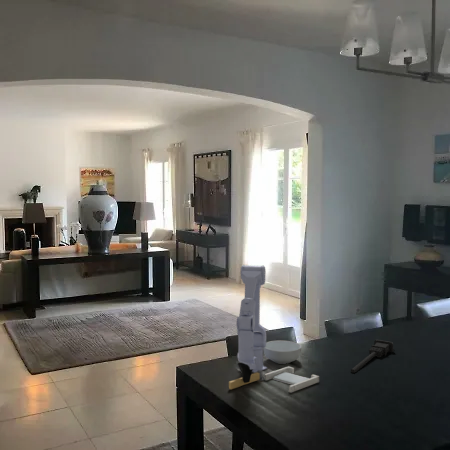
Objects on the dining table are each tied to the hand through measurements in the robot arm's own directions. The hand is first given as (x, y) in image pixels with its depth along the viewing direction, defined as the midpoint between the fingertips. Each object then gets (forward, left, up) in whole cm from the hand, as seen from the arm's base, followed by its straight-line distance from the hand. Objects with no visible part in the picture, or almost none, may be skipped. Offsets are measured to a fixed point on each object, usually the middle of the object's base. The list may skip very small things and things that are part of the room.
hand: (246, 382), depth 196 cm
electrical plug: (+13, +63, -2) cm, 64 cm away
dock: (+6, +16, -2) cm, 17 cm away
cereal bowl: (-12, +32, -2) cm, 34 cm away
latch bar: (-2, +2, -1) cm, 3 cm away
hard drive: (+7, +18, -3) cm, 20 cm away
